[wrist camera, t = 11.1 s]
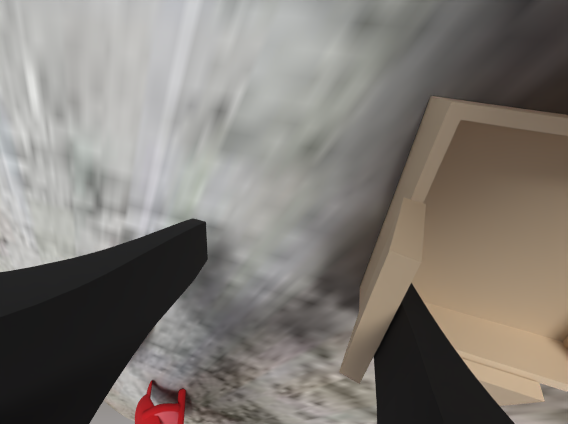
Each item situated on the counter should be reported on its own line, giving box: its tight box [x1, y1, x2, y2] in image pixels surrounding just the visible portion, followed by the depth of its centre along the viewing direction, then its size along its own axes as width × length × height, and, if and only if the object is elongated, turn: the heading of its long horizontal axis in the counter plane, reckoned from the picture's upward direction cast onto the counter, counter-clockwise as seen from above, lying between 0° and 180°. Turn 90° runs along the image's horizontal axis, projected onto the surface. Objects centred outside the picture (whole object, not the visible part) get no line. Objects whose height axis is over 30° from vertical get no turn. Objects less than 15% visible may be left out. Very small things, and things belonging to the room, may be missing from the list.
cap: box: [135, 381, 186, 424], centre depth 32 cm, size 8×6×6 cm
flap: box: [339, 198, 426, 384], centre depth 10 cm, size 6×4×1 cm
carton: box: [359, 96, 568, 406], centre depth 12 cm, size 16×16×4 cm
